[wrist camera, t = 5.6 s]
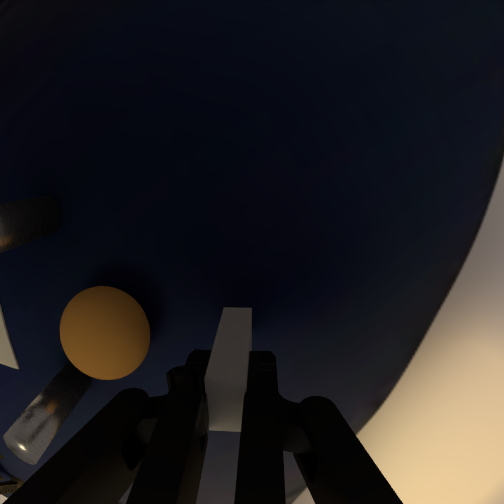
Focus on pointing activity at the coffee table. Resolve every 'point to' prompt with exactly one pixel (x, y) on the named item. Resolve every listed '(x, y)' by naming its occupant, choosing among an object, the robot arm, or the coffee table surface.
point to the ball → (105, 332)
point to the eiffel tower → (10, 484)
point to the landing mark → (6, 345)
